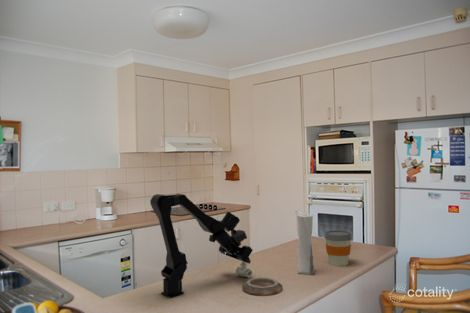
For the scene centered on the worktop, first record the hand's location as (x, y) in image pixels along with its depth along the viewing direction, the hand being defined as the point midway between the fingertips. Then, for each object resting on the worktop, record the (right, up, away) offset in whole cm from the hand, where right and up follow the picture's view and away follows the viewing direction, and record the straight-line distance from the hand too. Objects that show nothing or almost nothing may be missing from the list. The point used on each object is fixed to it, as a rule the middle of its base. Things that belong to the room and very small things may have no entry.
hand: (246, 261), depth 169 cm
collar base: (+6, -6, -16) cm, 19 cm away
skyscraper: (+27, -6, +5) cm, 28 cm away
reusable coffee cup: (+46, -6, +17) cm, 49 cm away
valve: (-1, -7, -1) cm, 7 cm away
